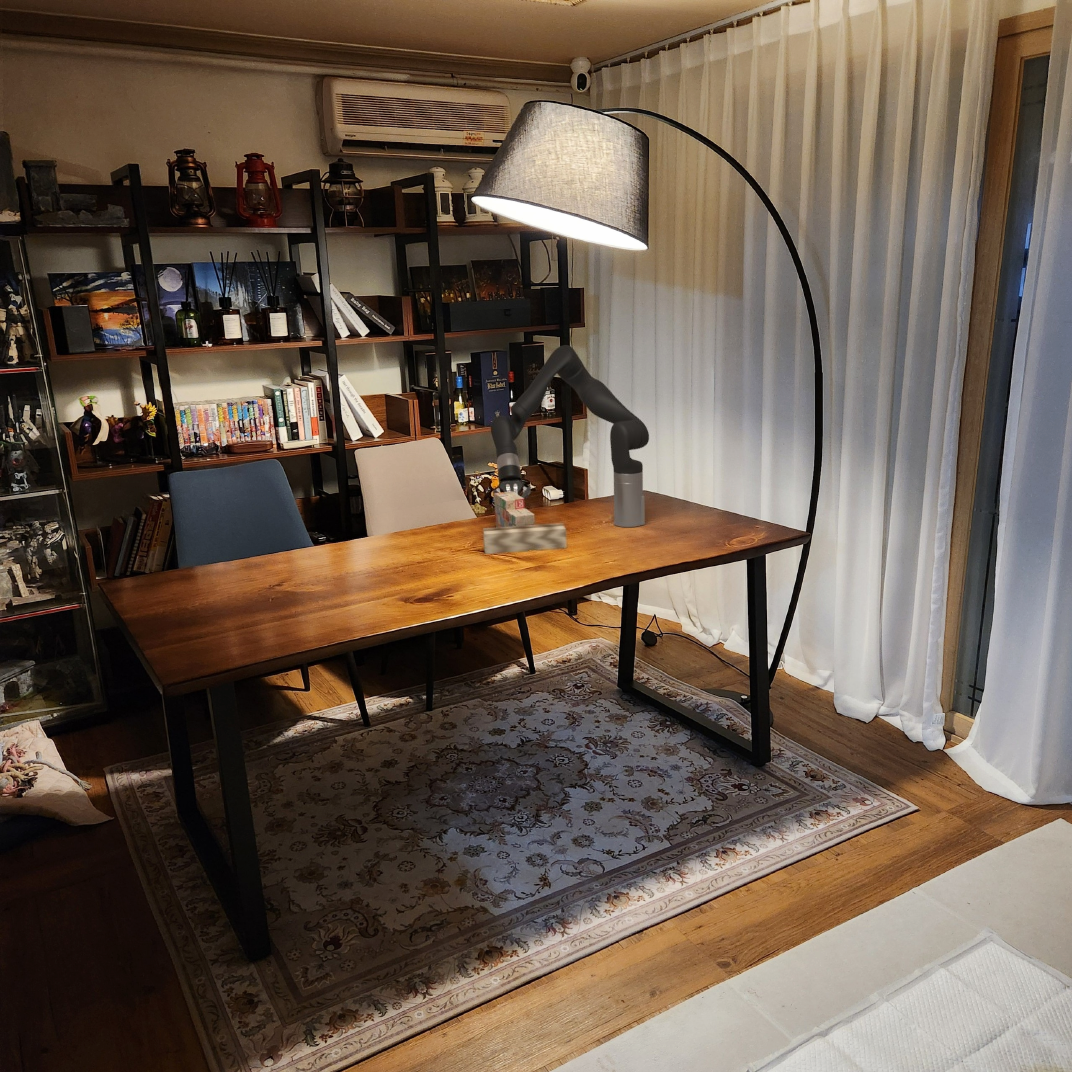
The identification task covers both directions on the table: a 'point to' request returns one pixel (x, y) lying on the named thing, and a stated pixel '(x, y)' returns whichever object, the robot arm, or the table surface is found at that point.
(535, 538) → the grey zigzag-patterned beam
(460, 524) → the table surface
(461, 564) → the table surface
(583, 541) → the table surface
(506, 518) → the stack of blocks
